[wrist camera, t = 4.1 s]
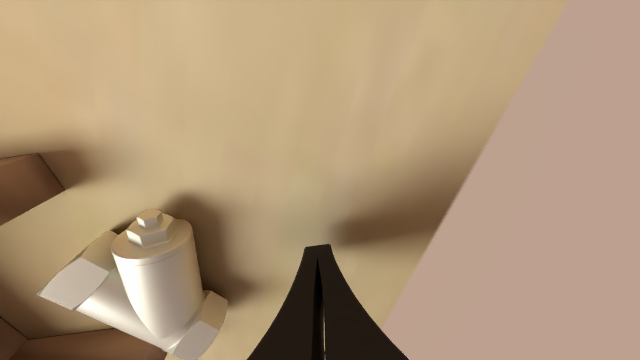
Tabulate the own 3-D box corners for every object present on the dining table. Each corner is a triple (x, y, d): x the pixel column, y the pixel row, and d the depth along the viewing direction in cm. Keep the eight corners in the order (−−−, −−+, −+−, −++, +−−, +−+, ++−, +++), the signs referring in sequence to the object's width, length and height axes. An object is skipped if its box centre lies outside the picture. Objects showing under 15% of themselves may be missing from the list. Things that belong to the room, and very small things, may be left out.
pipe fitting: (158, 181, 12) (86, 252, 14) (105, 223, 9) (15, 314, 10) (268, 261, 15) (200, 314, 17) (260, 317, 12) (175, 378, 13)
